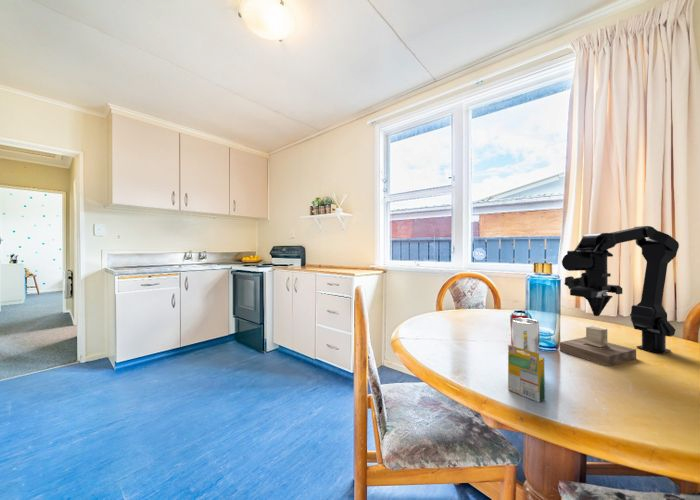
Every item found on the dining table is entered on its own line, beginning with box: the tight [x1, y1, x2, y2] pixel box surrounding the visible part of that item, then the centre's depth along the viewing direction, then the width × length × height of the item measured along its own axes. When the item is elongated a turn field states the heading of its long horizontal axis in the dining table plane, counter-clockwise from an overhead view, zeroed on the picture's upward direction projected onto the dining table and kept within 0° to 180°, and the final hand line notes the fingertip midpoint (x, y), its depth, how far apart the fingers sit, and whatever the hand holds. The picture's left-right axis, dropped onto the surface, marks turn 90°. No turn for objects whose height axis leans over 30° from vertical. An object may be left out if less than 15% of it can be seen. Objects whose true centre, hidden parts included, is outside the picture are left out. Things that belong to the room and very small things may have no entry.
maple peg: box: [585, 325, 608, 349], centre depth 94 cm, size 4×4×9 cm
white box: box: [512, 318, 541, 355], centre depth 82 cm, size 7×7×15 cm
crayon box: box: [507, 344, 546, 403], centre depth 69 cm, size 7×3×12 cm, turn 33°
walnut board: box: [559, 336, 637, 367], centre depth 94 cm, size 15×14×3 cm
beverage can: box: [510, 312, 529, 346], centre depth 102 cm, size 5×5×12 cm
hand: (596, 315), depth 95 cm, fingers closed
